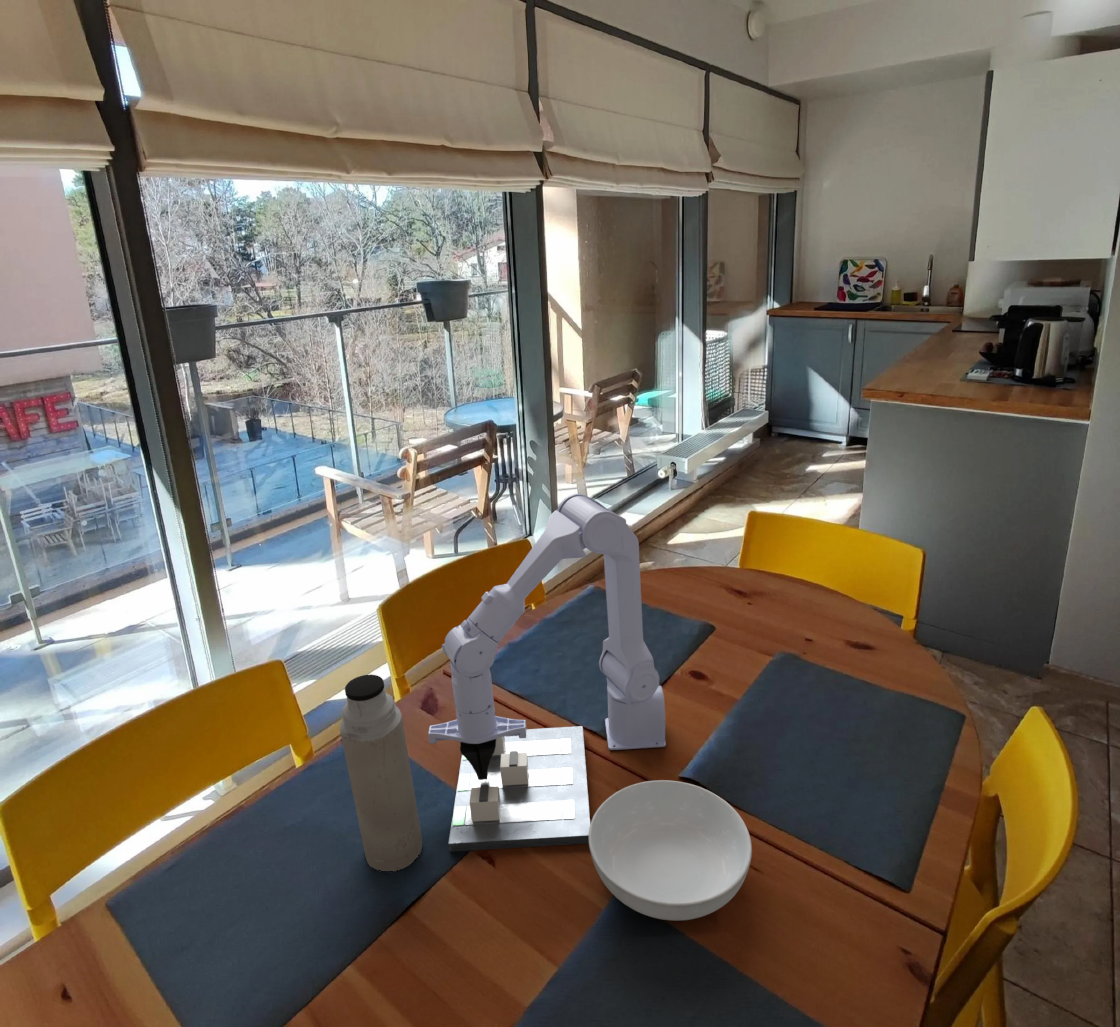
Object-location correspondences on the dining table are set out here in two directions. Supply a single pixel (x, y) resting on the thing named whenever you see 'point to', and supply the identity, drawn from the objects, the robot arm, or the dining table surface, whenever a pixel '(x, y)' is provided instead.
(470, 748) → the robot arm
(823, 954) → the dining table surface
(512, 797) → the panel
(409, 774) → the thermos bottle
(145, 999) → the dining table surface
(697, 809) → the serving bowl
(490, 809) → the block
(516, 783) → the block
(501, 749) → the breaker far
